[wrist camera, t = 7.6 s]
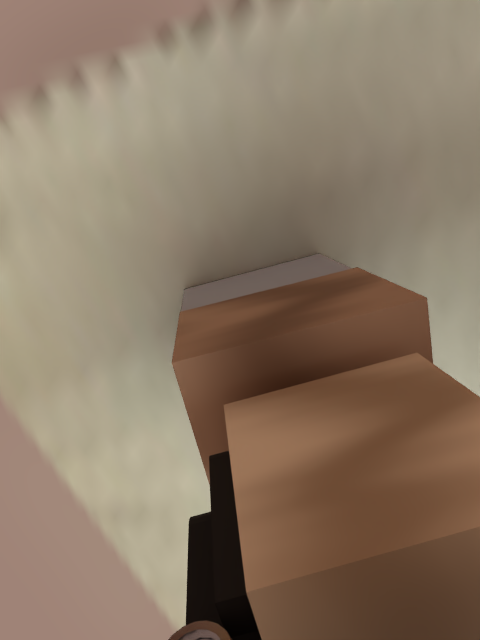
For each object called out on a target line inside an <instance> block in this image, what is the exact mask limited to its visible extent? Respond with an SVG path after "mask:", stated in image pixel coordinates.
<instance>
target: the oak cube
mask: <svg viewBox="0 0 480 640" xmlns="http://www.w3.org/2000/svg"><path fill="white" fill-rule="evenodd" d="M224 413H225V421H226V429H227V437H228V446H229V454H230V462H231V470H232V479H233V487H234V495H235V503H236V512H237V520H238V528H239V536H240V545H241V553H242V561H243V569H244V578H245V586H246V593H247V596H248V599H249V602H250V605H251V608H252V611H253V614H254V617H255V621H256V624H257V627H258V630H259V633H260V636H261V639H262V640H480V397H479V396H477V395H476V394H475V393H473V392H472V391H470V390H469V389H468V388H466V387H465V386H463V385H462V384H461V383H459V382H458V381H456V380H455V379H454V378H452V377H451V376H449V375H448V374H446V373H445V372H444V371H442V370H441V369H439V368H438V367H437V366H435V365H434V364H432V363H431V362H430V361H428V360H427V359H425V358H424V357H423V356H421V355H420V354H418V353H414V354H410V355H406V356H403V357H399V358H395V359H392V360H388V361H384V362H380V363H377V364H373V365H369V366H366V367H362V368H358V369H355V370H351V371H347V372H343V373H340V374H336V375H332V376H329V377H325V378H321V379H318V380H314V381H310V382H306V383H303V384H299V385H295V386H292V387H288V388H284V389H281V390H277V391H273V392H269V393H266V394H262V395H258V396H255V397H251V398H247V399H243V400H240V401H236V402H232V403H229V404H225V405H224Z"/></svg>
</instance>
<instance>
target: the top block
mask: <svg viewBox="0 0 480 640" xmlns="http://www.w3.org/2000/svg"><path fill="white" fill-rule="evenodd" d="M414 353H418V354H420V355H421V356H423V357H424V358H425V359H427V360H428V361H430V362H431V363H432V364H433V358H432V347H431V337H430V326H429V315H428V304H427V298H426V297H424V296H422V295H419V294H417V293H415V292H413V291H410V290H408V289H406V288H403V287H401V286H399V285H397V284H394V283H392V282H390V281H387V280H385V279H383V278H381V277H378V276H376V275H374V274H371V273H369V272H367V271H365V270H362V269H360V268H358V267H356V268H352V269H348V270H344V271H340V272H336V273H332V274H328V275H324V276H320V277H316V278H312V279H308V280H304V281H301V282H297V283H293V284H289V285H285V286H281V287H277V288H273V289H269V290H265V291H261V292H257V293H253V294H249V295H245V296H241V297H237V298H233V299H229V300H225V301H221V302H217V303H213V304H209V305H205V306H201V307H197V308H193V309H189V310H185V311H181V312H180V315H179V321H178V327H177V334H176V340H175V346H174V352H173V359H172V365H173V368H174V371H175V375H176V378H177V381H178V384H179V387H180V391H181V394H182V397H183V400H184V404H185V407H186V410H187V413H188V417H189V420H190V423H191V426H192V429H193V433H194V436H195V439H196V442H197V446H198V449H199V452H200V455H201V458H202V462H203V465H204V468H205V471H206V475H207V478H208V481H209V484H210V471H209V456H210V455H214V454H218V453H221V452H225V451H229V446H228V437H227V429H226V421H225V413H224V405H225V404H229V403H232V402H236V401H240V400H243V399H247V398H251V397H255V396H258V395H262V394H266V393H269V392H273V391H277V390H281V389H284V388H288V387H292V386H295V385H299V384H303V383H306V382H310V381H314V380H318V379H321V378H325V377H329V376H332V375H336V374H340V373H343V372H347V371H351V370H355V369H358V368H362V367H366V366H369V365H373V364H377V363H380V362H384V361H388V360H392V359H395V358H399V357H403V356H406V355H410V354H414Z"/></svg>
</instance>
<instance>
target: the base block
mask: <svg viewBox="0 0 480 640" xmlns="http://www.w3.org/2000/svg"><path fill="white" fill-rule="evenodd" d="M348 269H352V268H350V267H348V266H346V265H343V264H341V263H339V262H337V261H335V260H333V259H330V258H328V257H326V256H324V255H322V254H315V255H311V256H308V257H304V258H300V259H296V260H293V261H289V262H285V263H281V264H278V265H274V266H270V267H266V268H263V269H259V270H255V271H251V272H248V273H244V274H240V275H236V276H232V277H229V278H225V279H221V280H217V281H214V282H210V283H206V284H202V285H199V286H195V287H191V288H187V289H184V294H183V301H182V308H181V311H185V310H189V309H193V308H197V307H201V306H205V305H209V304H213V303H217V302H221V301H225V300H229V299H233V298H237V297H241V296H245V295H249V294H253V293H257V292H261V291H265V290H269V289H273V288H277V287H281V286H285V285H289V284H293V283H297V282H301V281H304V280H308V279H312V278H316V277H320V276H324V275H328V274H332V273H336V272H340V271H344V270H348Z"/></svg>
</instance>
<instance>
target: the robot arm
mask: <svg viewBox="0 0 480 640" xmlns="http://www.w3.org/2000/svg"><path fill="white" fill-rule="evenodd" d="M209 471H210V496H211V512H208V513H204V514H201V515H197V516H193V517H190V520H189V536H188V571H187V605H186V626H183V627H182V628H181V629H179V630H178V631H177V632H175V633H174V634H173V635H172V636H171V637H170V638H169V639H168V640H262V639H261V636H260V633H259V630H258V627H257V624H256V621H255V617H254V614H253V611H252V608H251V605H250V602H249V599H248V596H247V593H246V586H245V578H244V569H243V561H242V553H241V545H240V536H239V528H238V520H237V512H236V503H235V495H234V487H233V479H232V470H231V462H230V454H229V451H225V452H221V453H218V454H214V455H210V456H209Z"/></svg>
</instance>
